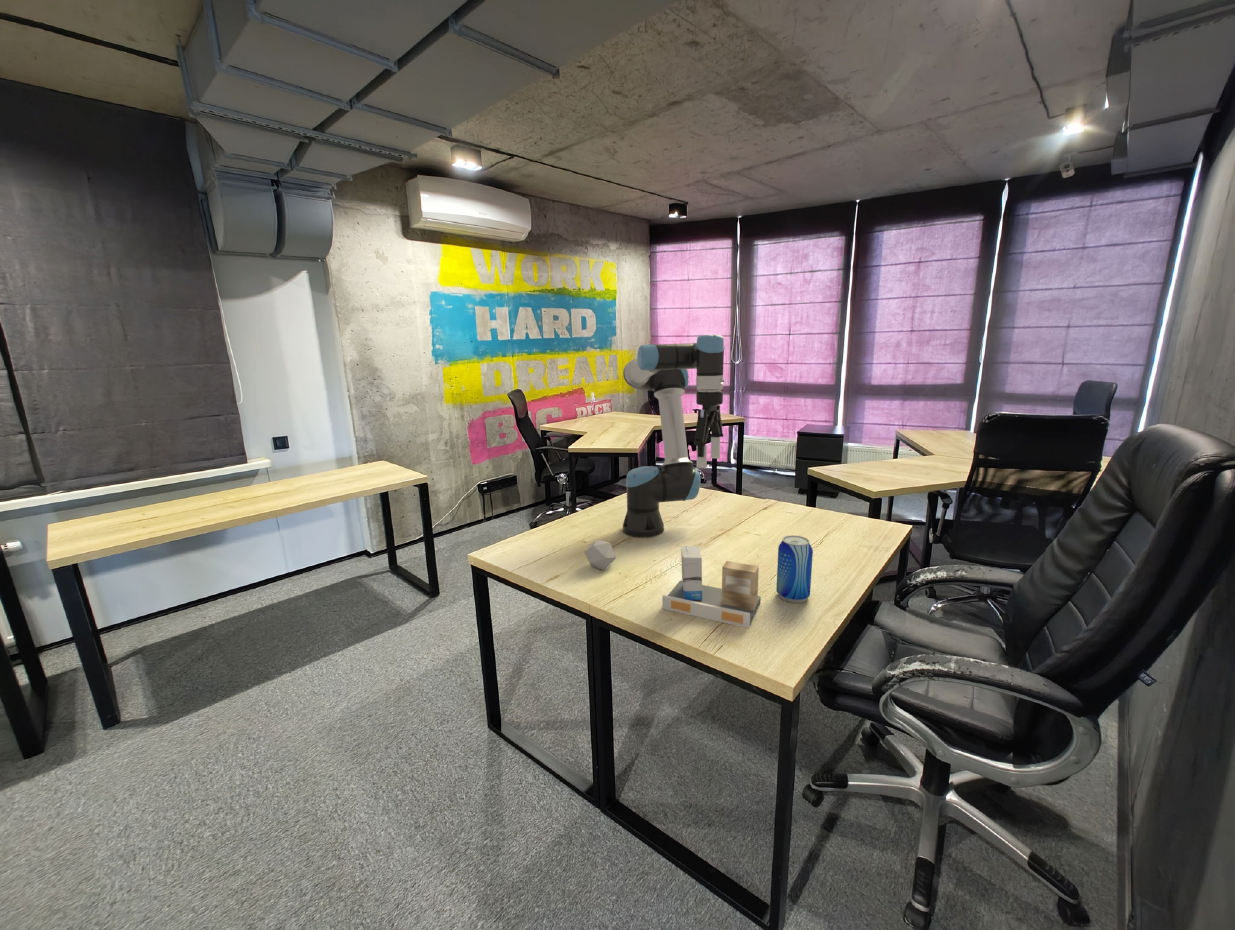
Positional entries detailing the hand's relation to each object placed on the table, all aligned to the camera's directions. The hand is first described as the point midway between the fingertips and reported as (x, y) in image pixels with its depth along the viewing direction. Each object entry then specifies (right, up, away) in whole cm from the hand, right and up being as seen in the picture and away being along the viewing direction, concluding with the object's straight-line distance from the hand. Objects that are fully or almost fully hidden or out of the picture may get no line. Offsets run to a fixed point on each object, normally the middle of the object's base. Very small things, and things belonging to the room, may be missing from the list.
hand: (708, 462), depth 146 cm
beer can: (+19, -36, -15) cm, 43 cm away
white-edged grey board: (-3, -37, -19) cm, 41 cm away
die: (-32, -32, +6) cm, 46 cm away
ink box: (-8, -35, -16) cm, 39 cm away
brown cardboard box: (+4, -35, -22) cm, 42 cm away
